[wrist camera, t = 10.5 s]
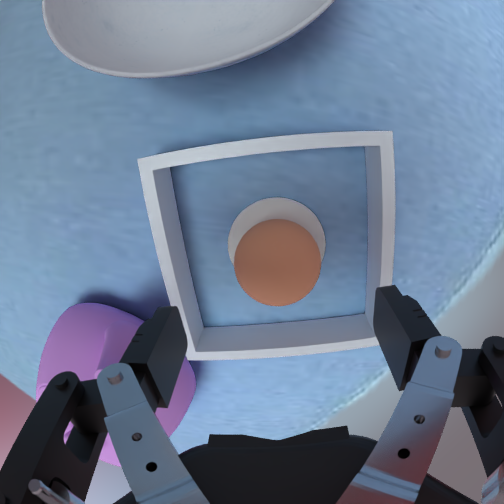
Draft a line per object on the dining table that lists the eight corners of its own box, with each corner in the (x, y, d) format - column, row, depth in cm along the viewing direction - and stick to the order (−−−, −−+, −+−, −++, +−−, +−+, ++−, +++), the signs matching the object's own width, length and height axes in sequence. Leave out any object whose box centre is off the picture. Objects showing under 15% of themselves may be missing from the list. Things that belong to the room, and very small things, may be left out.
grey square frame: (156, 154, 18) (137, 159, 16) (374, 130, 17) (392, 131, 14) (196, 335, 23) (187, 360, 21) (373, 320, 22) (384, 344, 19)
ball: (233, 214, 19) (221, 240, 15) (312, 205, 19) (326, 230, 14) (243, 284, 21) (236, 326, 16) (316, 277, 21) (328, 318, 16)
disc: (221, 202, 19) (220, 204, 19) (322, 192, 19) (322, 193, 18) (235, 291, 22) (235, 293, 21) (326, 283, 21) (326, 285, 21)
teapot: (249, 315, 22) (233, 441, 12) (159, 429, 29) (133, 508, 19) (96, 224, 21) (-7, 296, 10) (58, 371, 27) (12, 439, 17)
